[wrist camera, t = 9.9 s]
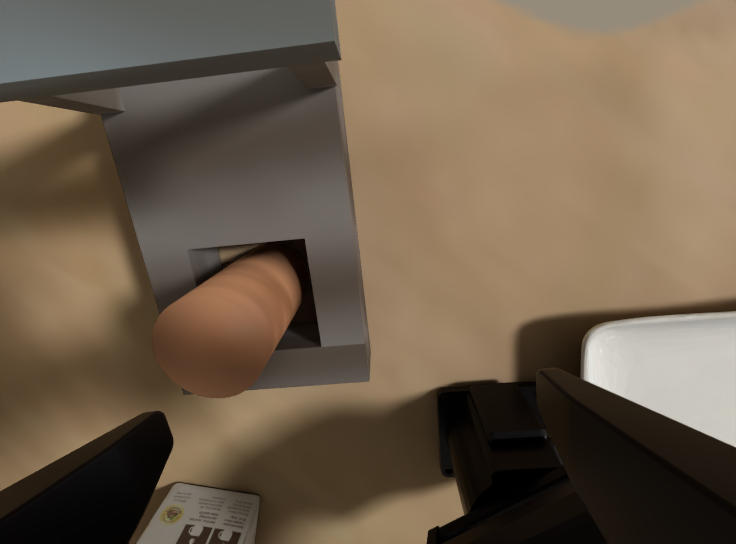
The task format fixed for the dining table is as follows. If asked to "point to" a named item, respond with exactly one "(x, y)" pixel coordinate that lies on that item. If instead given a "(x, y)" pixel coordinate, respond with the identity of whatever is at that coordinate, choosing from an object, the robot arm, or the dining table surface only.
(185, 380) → the peg
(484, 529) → the robot arm
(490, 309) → the dining table surface
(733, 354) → the salad plate
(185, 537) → the coffee box
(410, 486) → the dining table surface
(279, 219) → the socket block
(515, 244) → the dining table surface
